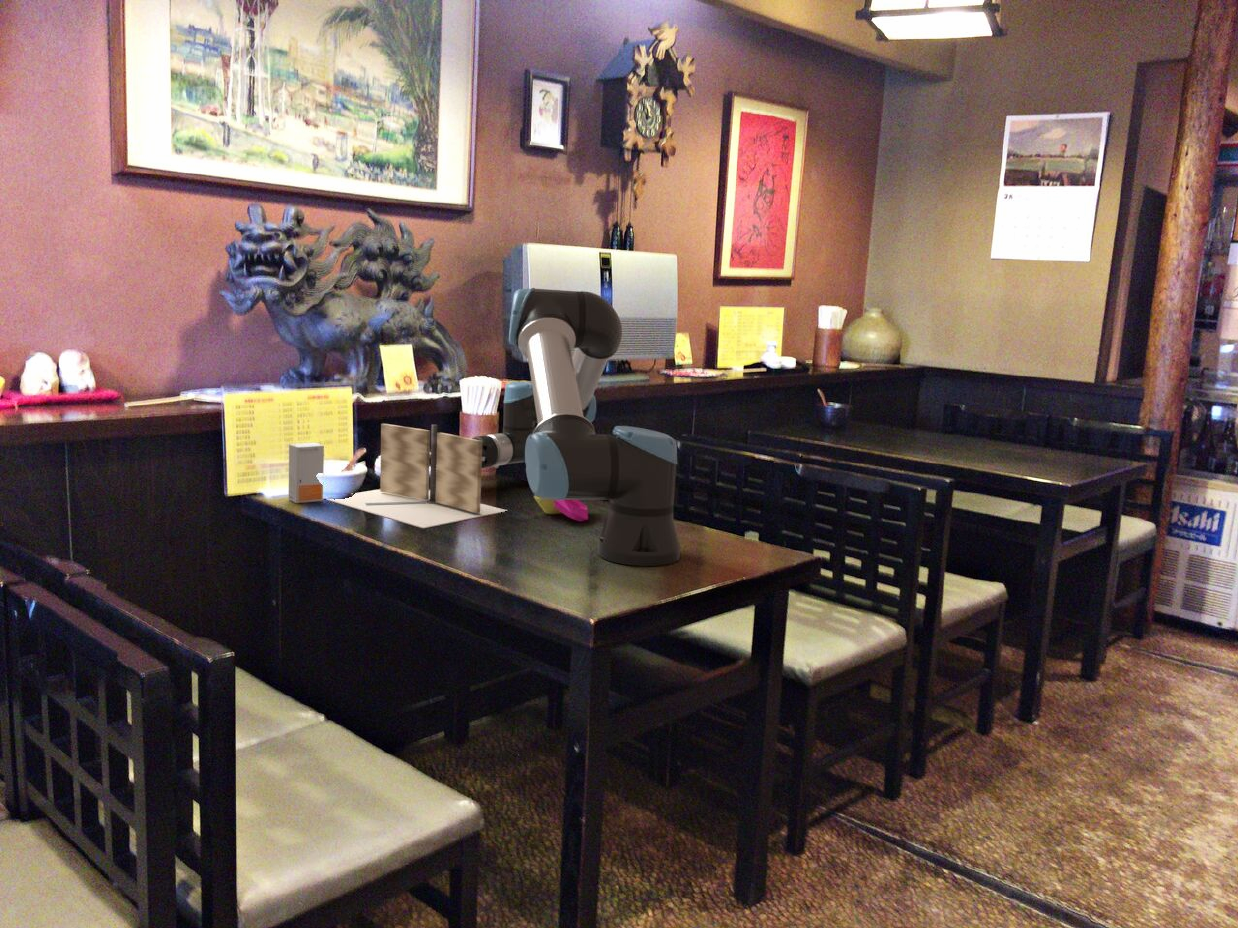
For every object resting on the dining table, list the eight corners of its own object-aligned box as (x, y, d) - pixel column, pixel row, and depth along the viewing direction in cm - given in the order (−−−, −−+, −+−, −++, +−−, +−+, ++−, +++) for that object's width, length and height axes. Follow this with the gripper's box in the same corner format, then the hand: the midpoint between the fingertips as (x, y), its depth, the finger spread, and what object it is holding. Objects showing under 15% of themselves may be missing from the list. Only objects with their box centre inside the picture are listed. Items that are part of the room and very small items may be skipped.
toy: (548, 529, 202) (575, 487, 200) (511, 487, 215) (536, 447, 213) (583, 543, 208) (610, 502, 207) (545, 500, 222) (570, 462, 220)
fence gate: (428, 499, 216) (430, 430, 213) (425, 500, 215) (427, 431, 212) (383, 490, 221) (384, 423, 218) (380, 491, 220) (381, 424, 218)
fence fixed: (482, 514, 207) (485, 433, 204) (473, 516, 205) (476, 434, 202) (433, 501, 216) (435, 423, 213) (423, 503, 214) (425, 424, 211)
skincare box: (296, 504, 207) (296, 447, 205) (288, 500, 210) (288, 443, 208) (324, 501, 211) (324, 445, 209) (315, 497, 214) (316, 442, 212)
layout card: (507, 511, 211) (507, 509, 211) (423, 528, 194) (423, 527, 193) (408, 485, 231) (408, 484, 231) (323, 499, 213) (323, 497, 213)
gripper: (508, 471, 232) (429, 484, 214) (468, 462, 240) (389, 473, 222) (509, 439, 230) (429, 449, 212) (469, 431, 239) (389, 440, 220)
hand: (409, 462), depth 217 cm, fingers closed
